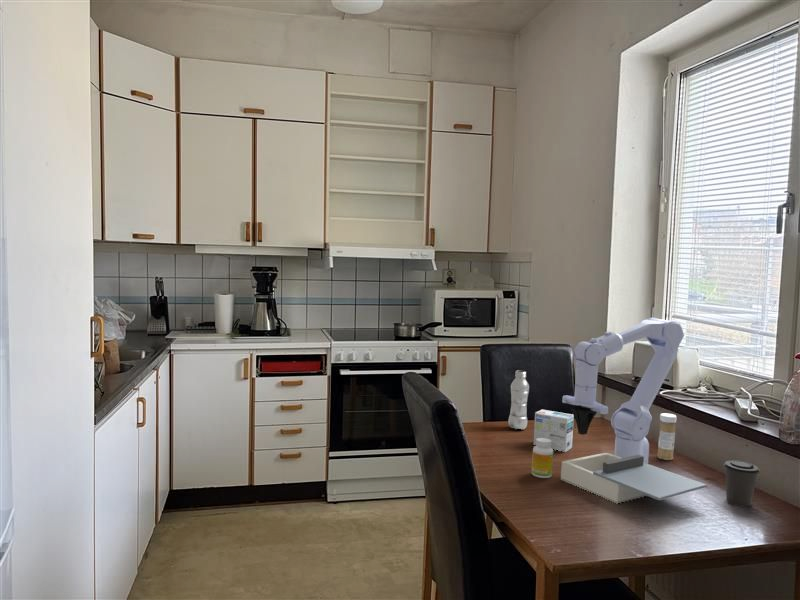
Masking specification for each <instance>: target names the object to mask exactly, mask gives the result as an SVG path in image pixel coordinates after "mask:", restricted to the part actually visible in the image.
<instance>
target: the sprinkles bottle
mask: <svg viewBox="0 0 800 600" xmlns="http://www.w3.org/2000/svg"><path fill="white" fill-rule="evenodd" d="M677 417H678V416H677V415H676V414H673V413H667V412H665V413H664V412H663V413H660V414H659V420H660V421H659V433H658V434H659V435H658V444H657V446H658V447H657V448H658V449H657V458H658V459H660V460H664V461H672V460H674V449H675V438H676V424H677Z"/></svg>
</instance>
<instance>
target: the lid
mask: <svg viewBox="0 0 800 600" xmlns="http://www.w3.org/2000/svg"><path fill="white" fill-rule="evenodd" d="M593 474H594V475H597V476H599V477H602V478H604V479H607V480H609V481H612V482H614V483H617V484H619V485H622V486H624V487H627V488H629V489H632V490H634V491H637V492H639V493H642V494H644V495H647V496H646V497H649V498H652V499H654V500H657V501H662V500H665V499H669V498H673V497H677V496H680V495H683V494H687V493H690V492H694V491H697V490H700V489H704V488H705V489H706V488H707V486H708V484H706V483H703V482H700V481H697V480H694V479H693V478H692V479H691V478H689V477H686V476H683V475H680V474H677V473H675V472H672V471H669V470H666V469H663V468H661V467H657V466H655V465H652V464H649V463H648V464H646V463H644V456H641V455H635V456H630V457H626V458H621V459H616V460H611V461H607V462H603V470H599V471H594V472H593Z"/></svg>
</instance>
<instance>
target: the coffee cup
mask: <svg viewBox="0 0 800 600" xmlns="http://www.w3.org/2000/svg"><path fill="white" fill-rule="evenodd" d="M723 466H724V467H725V486H726V487H725V489H726V501H727V502H728V503H731V504H733V505H735V506H740V507H750V506H751V505H752V502H753V495H754V492H755V488H756V485H757V484H756V483H757V479H758V474H759V473H760V472H761V469H760V468H759V467H758V466H757V465H755V464H753V463H750V462H748V461H744V460H737V459H736V460H726V461H724V463H723Z"/></svg>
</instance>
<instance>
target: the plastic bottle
mask: <svg viewBox="0 0 800 600" xmlns="http://www.w3.org/2000/svg"><path fill="white" fill-rule="evenodd" d="M514 377H515V378H514V379H513V381H512V382H511V383H510V394H511V396H510V401H511V403H510V410H509V411H510V413H509V416H508V426H509V428H511V429H513V428H514V429H513V430H517V429H521V430H525V429H526V428H527V427H528V417H527V416H528V415H527V410H528V409H527V406H528V403H527V402H528V397H529V393H530V384H529V382H528V381H527V379H526V378H527V371H525V370H516V371H515V375H514Z"/></svg>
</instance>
